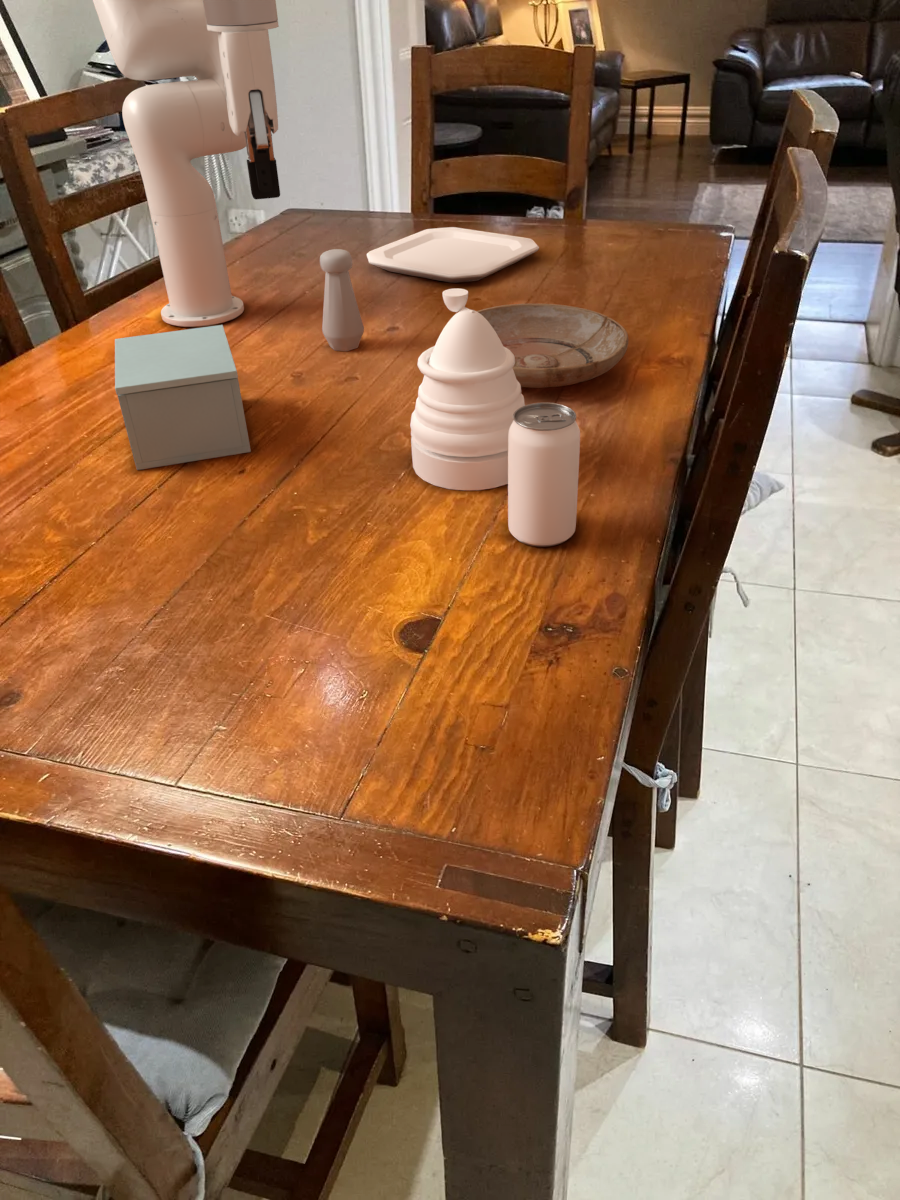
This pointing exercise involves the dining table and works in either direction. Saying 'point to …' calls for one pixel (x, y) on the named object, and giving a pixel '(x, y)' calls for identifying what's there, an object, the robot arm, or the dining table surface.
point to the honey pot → (464, 403)
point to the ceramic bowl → (557, 342)
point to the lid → (172, 359)
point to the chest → (185, 423)
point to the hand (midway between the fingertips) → (266, 196)
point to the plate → (452, 254)
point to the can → (543, 474)
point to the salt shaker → (340, 302)
